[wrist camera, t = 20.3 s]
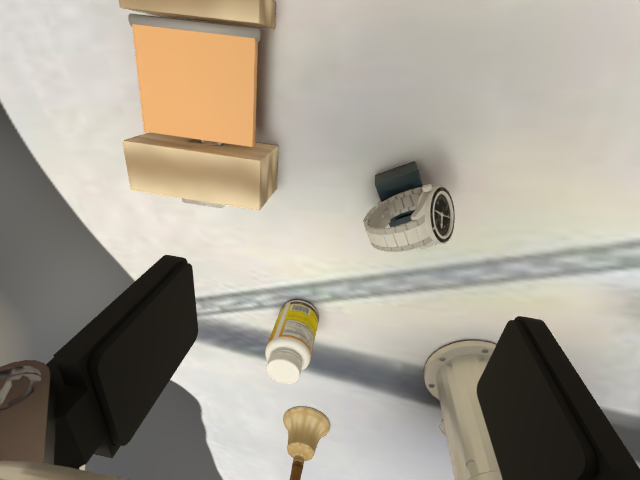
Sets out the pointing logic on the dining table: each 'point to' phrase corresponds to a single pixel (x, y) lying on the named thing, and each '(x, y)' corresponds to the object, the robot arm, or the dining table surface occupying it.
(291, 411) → the hand bell
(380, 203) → the watch
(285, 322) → the supplement bottle
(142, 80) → the flap
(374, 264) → the dining table surface
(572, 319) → the dining table surface
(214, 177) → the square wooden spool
